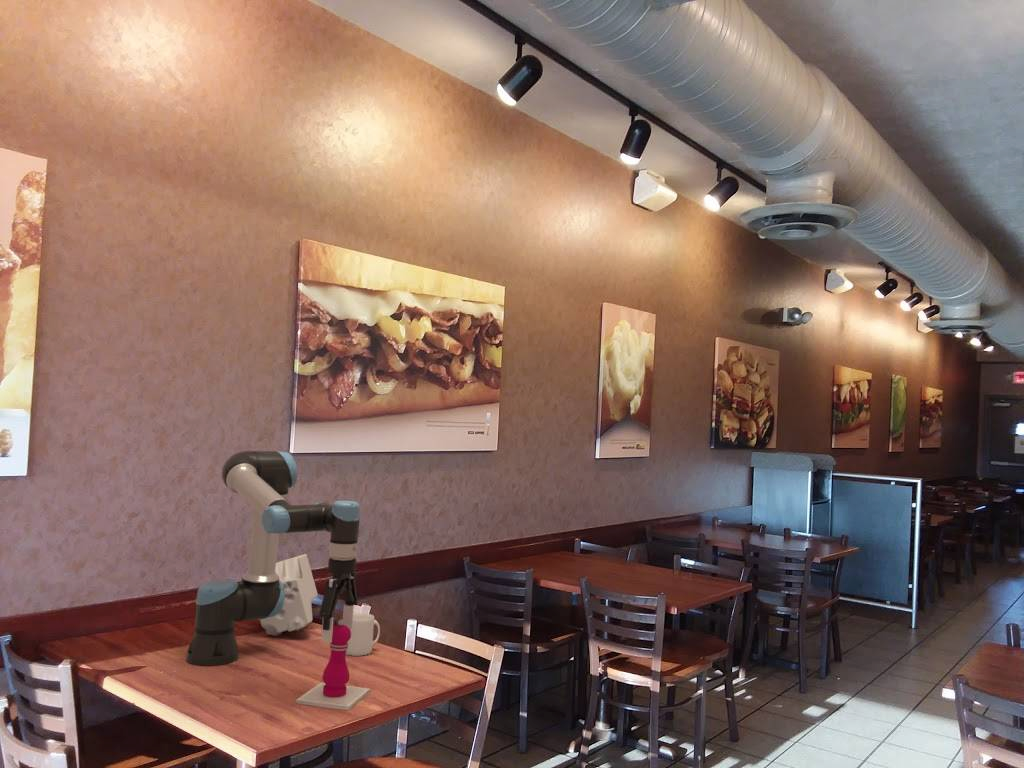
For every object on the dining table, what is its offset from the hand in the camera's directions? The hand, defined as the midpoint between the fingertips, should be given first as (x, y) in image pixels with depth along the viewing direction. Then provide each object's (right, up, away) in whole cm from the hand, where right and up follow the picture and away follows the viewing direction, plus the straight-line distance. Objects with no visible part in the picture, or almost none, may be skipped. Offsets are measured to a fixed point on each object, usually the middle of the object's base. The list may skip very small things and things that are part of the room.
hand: (337, 635), depth 221 cm
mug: (-2, -19, +43) cm, 47 cm away
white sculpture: (-32, -19, +62) cm, 72 cm away
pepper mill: (-1, -16, -1) cm, 16 cm away
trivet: (-1, -17, -1) cm, 17 cm away
